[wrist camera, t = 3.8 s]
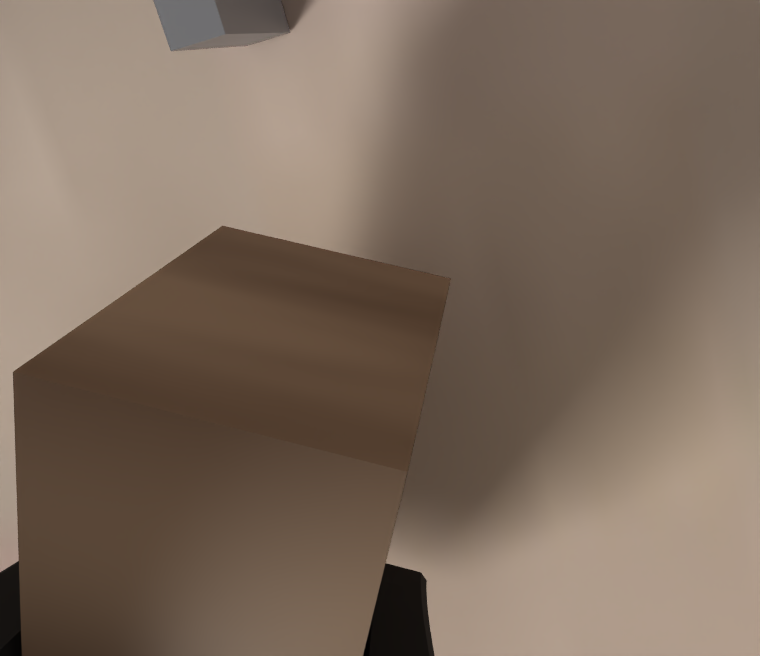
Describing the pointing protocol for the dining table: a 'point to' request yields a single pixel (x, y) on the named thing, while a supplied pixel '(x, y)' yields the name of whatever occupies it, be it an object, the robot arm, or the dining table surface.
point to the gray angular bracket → (220, 22)
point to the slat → (222, 455)
